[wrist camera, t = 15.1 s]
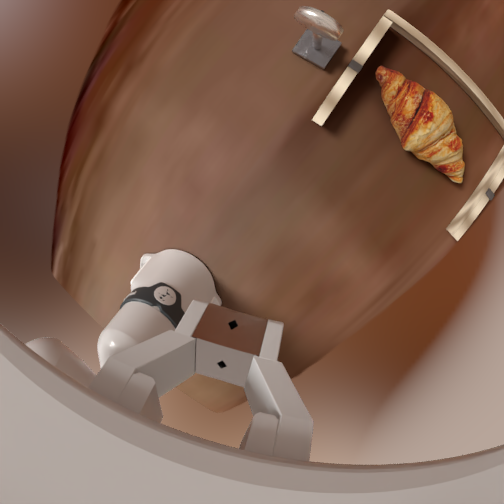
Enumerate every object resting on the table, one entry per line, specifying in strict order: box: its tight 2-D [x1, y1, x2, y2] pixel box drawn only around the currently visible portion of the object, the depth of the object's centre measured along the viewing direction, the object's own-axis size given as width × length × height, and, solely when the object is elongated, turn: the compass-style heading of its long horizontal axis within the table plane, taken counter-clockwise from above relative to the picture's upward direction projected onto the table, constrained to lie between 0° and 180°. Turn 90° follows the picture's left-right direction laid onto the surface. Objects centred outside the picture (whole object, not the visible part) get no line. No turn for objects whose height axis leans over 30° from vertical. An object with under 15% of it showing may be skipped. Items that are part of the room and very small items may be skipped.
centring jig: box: [312, 9, 504, 241], centre depth 29 cm, size 22×30×4 cm
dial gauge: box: [292, 6, 343, 70], centre depth 23 cm, size 5×5×14 cm
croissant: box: [376, 66, 465, 183], centre depth 29 cm, size 21×10×8 cm
